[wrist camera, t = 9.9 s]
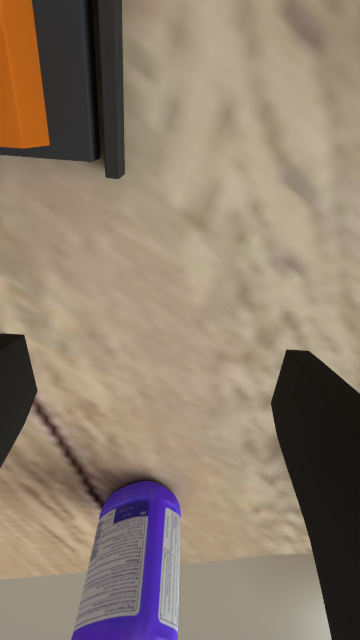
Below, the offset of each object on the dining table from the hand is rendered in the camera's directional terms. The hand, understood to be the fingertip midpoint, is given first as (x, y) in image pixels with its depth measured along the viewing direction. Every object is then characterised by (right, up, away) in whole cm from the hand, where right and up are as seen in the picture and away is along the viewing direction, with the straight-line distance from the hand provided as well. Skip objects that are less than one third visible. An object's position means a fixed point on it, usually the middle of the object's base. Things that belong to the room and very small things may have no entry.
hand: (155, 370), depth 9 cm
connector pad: (-6, +11, +4) cm, 13 cm away
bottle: (-3, -15, +20) cm, 25 cm away
